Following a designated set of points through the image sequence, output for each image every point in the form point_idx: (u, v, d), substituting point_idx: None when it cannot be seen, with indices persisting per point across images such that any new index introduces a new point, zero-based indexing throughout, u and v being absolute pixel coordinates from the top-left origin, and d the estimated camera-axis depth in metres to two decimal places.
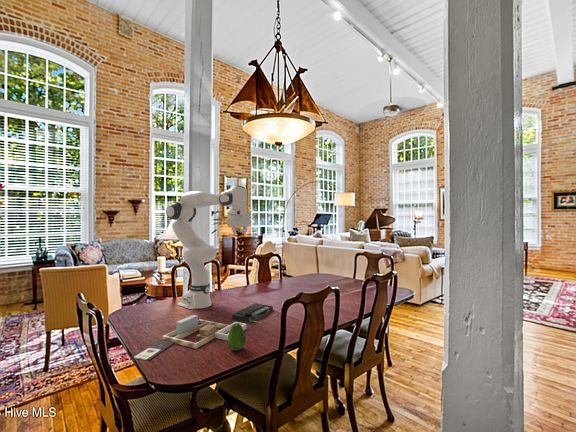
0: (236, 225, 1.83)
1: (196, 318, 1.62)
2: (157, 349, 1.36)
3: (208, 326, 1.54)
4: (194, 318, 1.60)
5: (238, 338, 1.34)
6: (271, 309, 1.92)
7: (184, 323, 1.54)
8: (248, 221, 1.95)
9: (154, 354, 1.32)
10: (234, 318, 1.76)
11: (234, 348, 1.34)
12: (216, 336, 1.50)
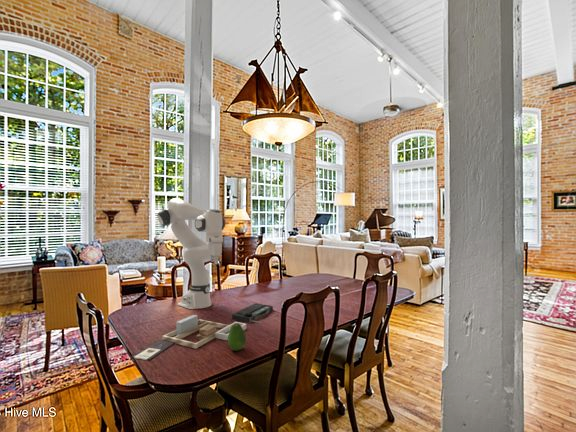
0: None
1: (196, 318, 1.62)
2: (157, 349, 1.36)
3: (208, 326, 1.53)
4: (194, 318, 1.60)
5: (238, 338, 1.34)
6: (271, 309, 1.92)
7: (184, 323, 1.54)
8: None
9: (154, 354, 1.32)
10: (234, 318, 1.77)
11: (234, 348, 1.34)
12: (216, 336, 1.50)
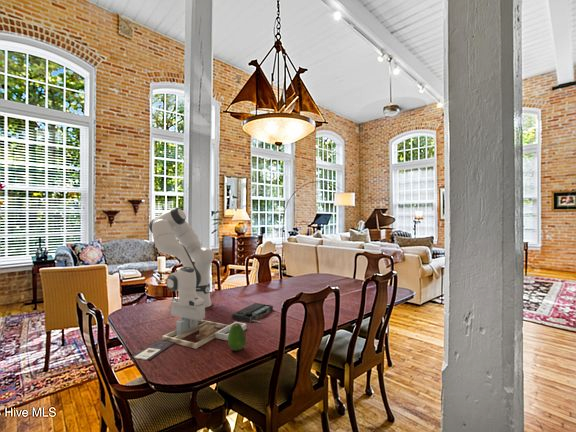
0: None
1: None
2: (157, 349, 1.37)
3: (207, 326, 1.54)
4: None
5: (238, 338, 1.34)
6: (271, 308, 1.93)
7: (184, 323, 1.54)
8: None
9: (154, 354, 1.32)
10: (235, 318, 1.77)
11: (234, 348, 1.34)
12: (216, 336, 1.50)
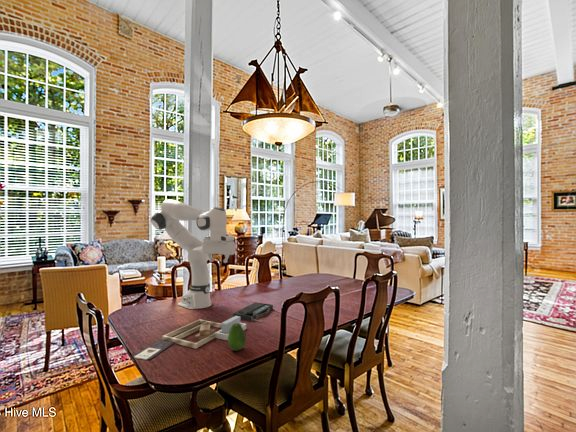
0: None
1: (239, 319, 1.61)
2: (157, 349, 1.37)
3: (204, 326, 1.53)
4: (237, 319, 1.59)
5: (238, 338, 1.34)
6: (271, 308, 1.94)
7: (229, 324, 1.53)
8: None
9: (154, 354, 1.32)
10: None
11: (234, 348, 1.34)
12: (216, 336, 1.50)
